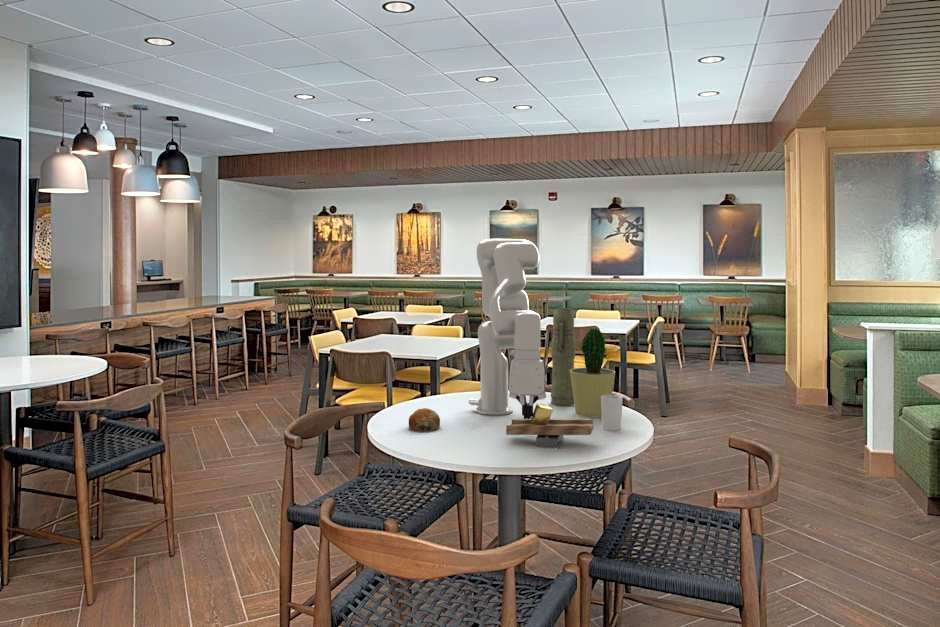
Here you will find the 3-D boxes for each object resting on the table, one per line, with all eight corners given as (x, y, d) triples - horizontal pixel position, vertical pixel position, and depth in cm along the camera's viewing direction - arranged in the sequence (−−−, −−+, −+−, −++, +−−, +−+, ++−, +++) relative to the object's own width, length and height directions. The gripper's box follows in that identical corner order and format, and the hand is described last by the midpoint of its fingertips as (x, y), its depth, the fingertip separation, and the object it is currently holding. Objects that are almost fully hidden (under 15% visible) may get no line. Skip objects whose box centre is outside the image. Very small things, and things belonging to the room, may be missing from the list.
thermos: (575, 400, 267) (576, 307, 264) (574, 407, 255) (575, 309, 252) (551, 399, 268) (552, 307, 266) (549, 406, 257) (550, 309, 254)
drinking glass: (609, 431, 218) (610, 399, 218) (596, 427, 224) (596, 395, 223) (626, 429, 221) (627, 397, 221) (612, 425, 227) (613, 394, 227)
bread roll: (442, 438, 225) (446, 413, 228) (431, 431, 216) (435, 405, 219) (413, 435, 229) (417, 411, 231) (401, 428, 219) (405, 403, 222)
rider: (529, 422, 204) (535, 406, 203) (532, 417, 209) (537, 401, 207) (546, 428, 203) (551, 413, 202) (548, 423, 208) (553, 407, 207)
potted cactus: (566, 408, 252) (567, 324, 250) (610, 409, 252) (611, 324, 249) (571, 418, 237) (572, 328, 234) (618, 418, 236) (619, 328, 234)
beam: (506, 434, 204) (505, 425, 204) (512, 427, 213) (512, 418, 213) (590, 435, 198) (590, 425, 198) (593, 427, 207) (593, 418, 207)
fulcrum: (536, 446, 201) (536, 436, 201) (543, 436, 212) (543, 426, 212) (557, 448, 199) (557, 437, 199) (563, 437, 211) (563, 427, 211)
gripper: (499, 356, 203) (499, 419, 204) (550, 357, 199) (550, 422, 200) (505, 353, 211) (505, 414, 212) (555, 354, 206) (555, 417, 207)
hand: (527, 418), depth 206 cm, fingers closed
